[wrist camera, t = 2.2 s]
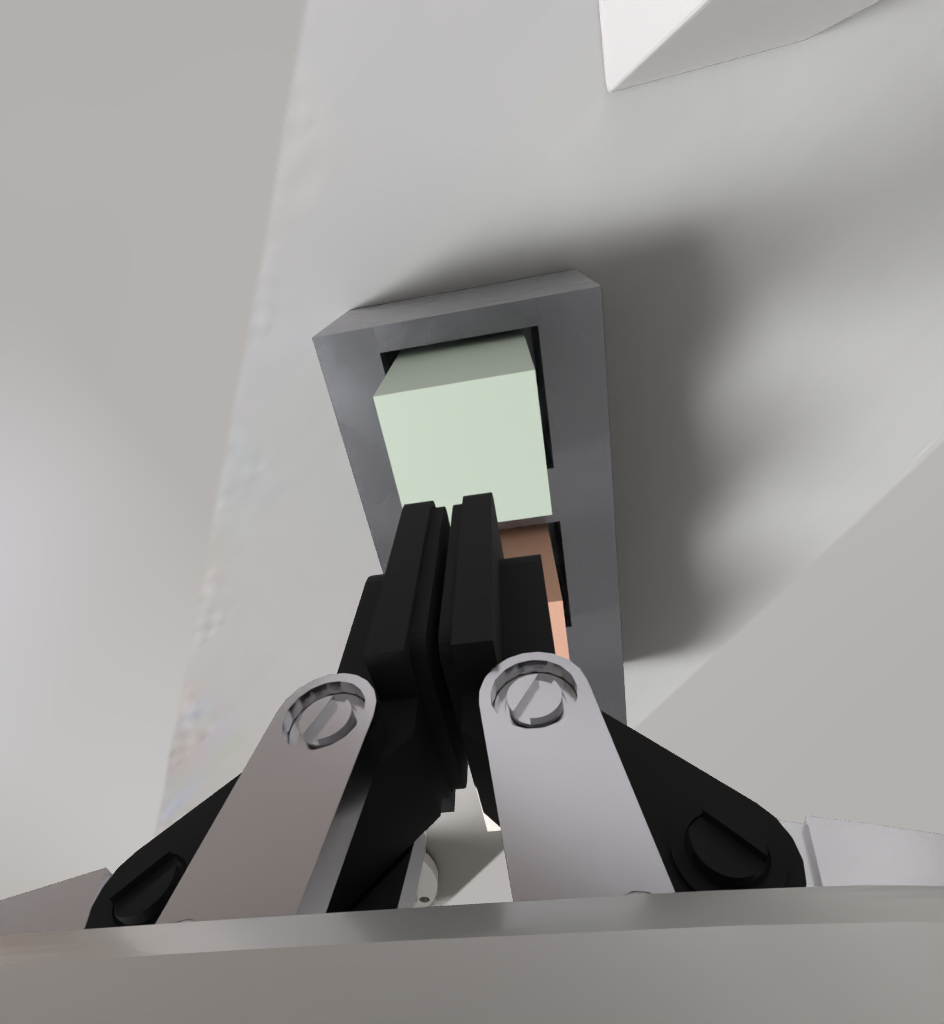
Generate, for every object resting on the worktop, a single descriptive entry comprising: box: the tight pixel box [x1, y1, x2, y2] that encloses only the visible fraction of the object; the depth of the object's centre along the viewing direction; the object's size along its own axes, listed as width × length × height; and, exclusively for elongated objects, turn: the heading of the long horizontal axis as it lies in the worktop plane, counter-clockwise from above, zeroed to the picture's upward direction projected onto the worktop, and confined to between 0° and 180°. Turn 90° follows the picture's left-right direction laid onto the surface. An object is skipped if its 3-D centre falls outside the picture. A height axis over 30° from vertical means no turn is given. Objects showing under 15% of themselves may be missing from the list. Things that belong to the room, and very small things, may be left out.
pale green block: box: [373, 329, 552, 526], centre depth 19 cm, size 5×5×6 cm
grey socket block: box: [312, 269, 627, 765], centre depth 27 cm, size 23×10×6 cm, turn 10°
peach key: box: [499, 523, 570, 660], centre depth 23 cm, size 5×5×6 cm
